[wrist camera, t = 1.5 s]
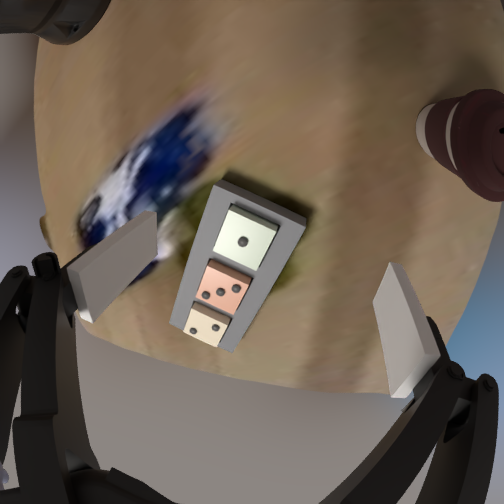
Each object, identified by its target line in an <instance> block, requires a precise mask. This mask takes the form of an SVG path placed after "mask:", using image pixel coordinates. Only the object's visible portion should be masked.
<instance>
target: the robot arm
mask: <svg viewBox="0 0 504 504" xmlns="http://www.w3.org/2000/svg"><path fill="white" fill-rule="evenodd" d="M109 2H110V0H0V34H8V33H33V34H36V35H38V36H39V37H41V38H43V39H45V40H47V41H49V42H50V43H53V44H58V45H69V44H72V43H75V42H76V41H78V40H80V39H81V38H83V37H84V36H85V35H86V34H87V33H88V32H89V31H90V30H91V29H92V28H93V27H94V26H95V25H96V24H97V22H98V21H99V20H100V18H101V17H102V15H103V14H104V12H105V10H106V8H107V6H108V4H109ZM157 255H158V252H157V220H156V212H150V211H144V212H142V213H141V214H139V215H138V216H136V217H135V218H133V219H132V220H130V221H129V222H128V223H126V224H125V225H123V226H122V227H120V228H119V229H118V230H116V231H115V232H113V233H112V234H110V235H109V236H108V237H106V238H105V239H104V240H102V241H101V242H99V243H98V244H95V245H93V246H90V247H88V248H87V249H85V250H84V251H83V252H82V253H80V254H79V255H77V257H75V258H74V259H72V260H71V261H70V262H68V263H67V264H66V265H65V266H63V267H62V268H61V269H60V266H59V262H58V258H57V255H56V254H55V253H52V252H46V253H42V254H40V255H38V256H37V257H35V258H34V259H33V260H32V266H33V268H34V272H35V275H36V276H30V275H29V272H28V269H27V267H26V266H16V267H13V268H12V269H11V270H10V271H9V272H8V273H7V274H6V276H5V277H4V279H3V280H2V282H1V283H0V504H178V503H174V502H172V501H170V500H169V499H167V498H166V497H164V496H163V495H161V494H160V493H158V492H157V491H155V490H154V489H152V488H151V487H149V486H148V485H147V484H145V483H143V482H142V481H140V480H138V479H135V478H133V477H131V476H129V475H127V474H125V473H123V472H121V471H119V470H117V469H115V468H113V467H112V468H111V470H110V471H107V470H101V469H100V467H99V464H98V461H97V459H96V457H95V455H94V453H93V451H92V449H91V447H90V443H89V439H88V434H87V430H86V425H85V419H84V414H83V408H82V401H81V394H80V387H79V378H78V367H77V356H76V355H77V354H76V335H75V316H74V312H75V311H76V310H77V309H78V310H79V313H80V316H81V318H82V319H84V320H86V321H89V322H91V323H94V322H95V320H96V319H97V318H98V317H99V316H100V315H101V314H102V313H103V312H104V310H105V309H106V308H107V307H108V306H109V305H110V304H111V303H112V302H113V301H114V299H115V298H116V297H117V296H118V295H119V294H120V293H121V292H122V291H123V290H124V289H125V288H126V287H127V286H128V284H129V283H130V282H131V281H132V280H133V279H134V278H135V277H136V276H137V275H138V274H139V273H140V272H141V271H142V270H143V269H144V268H145V267H146V266H147V265H148V264H149V263H150V262H151V261H152V260H153V259H154V258H155V257H156V256H157ZM16 306H17V307H18V310H19V312H18V314H16ZM373 306H374V310H375V314H376V319H377V323H378V328H379V333H380V337H381V342H382V347H383V353H384V358H385V364H386V370H387V376H388V382H389V389H390V395H391V397H393V398H406V397H407V396H408V395H409V394H410V392H411V391H412V390H413V392H414V398H413V399H412V400H411V401H410V402H409V403H408V404H407V405H406V406H405V408H403V409H402V412H403V413H402V414H401V415H400V417H399V418H398V420H397V421H396V422H395V423H394V425H393V426H392V427H391V429H390V430H389V431H388V432H387V434H386V435H385V436H384V437H383V439H382V440H381V441H380V442H379V444H378V445H377V446H376V447H375V448H374V449H373V450H372V452H371V453H370V454H369V455H368V456H367V457H366V458H365V460H364V461H363V462H362V463H361V464H360V465H359V466H358V467H357V468H356V469H355V470H354V471H353V472H352V473H351V474H350V475H349V476H348V477H347V478H346V479H345V480H344V481H343V482H342V483H341V484H340V485H339V486H338V487H337V488H336V489H335V490H334V491H332V492H331V493H330V494H329V495H328V496H327V497H326V498H325V499H324V500H322V501H321V502H320V503H319V504H396V503H397V502H398V501H399V499H400V498H401V497H402V496H403V494H404V493H405V491H406V490H407V489H408V487H409V486H410V485H411V483H412V482H413V480H414V479H415V477H416V476H417V474H418V473H419V471H420V470H421V468H422V467H423V465H424V463H425V462H426V460H427V458H428V457H429V455H430V453H431V452H432V450H433V448H434V447H435V445H436V443H437V445H436V448H435V452H434V455H433V458H432V461H431V464H430V467H429V470H428V473H427V476H426V478H425V481H424V484H423V487H422V489H421V492H420V494H419V496H418V499H417V501H416V503H415V504H484V503H485V500H486V496H487V492H488V488H489V483H490V478H491V473H492V468H493V462H494V455H495V448H496V439H497V428H498V405H499V403H498V402H499V392H498V391H499V390H498V385H497V383H496V380H495V379H494V378H493V377H492V376H490V375H489V374H481V376H480V377H479V378H478V379H477V380H473V379H470V378H467V377H466V376H465V372H464V370H463V368H462V367H461V366H460V365H459V364H458V363H456V362H454V361H451V360H450V357H449V355H448V352H447V349H446V347H445V344H444V342H443V340H442V337H441V334H439V333H440V332H439V329H438V327H437V325H436V323H435V322H434V321H433V320H432V319H431V317H428V316H425V314H424V311H423V309H422V307H421V304H420V302H419V300H418V298H417V295H416V293H415V291H414V289H413V287H412V285H411V282H410V280H409V278H408V276H407V274H406V272H405V270H404V268H403V266H402V264H398V263H393V262H389V265H388V267H387V270H386V272H385V275H384V277H383V279H382V282H381V284H380V286H379V289H378V291H377V293H376V296H375V298H374V300H373ZM20 382H21V415H20V417H15V418H14V420H13V425H12V429H13V430H12V431H13V445H14V455H15V463H16V470H17V476H18V482H19V487H17V488H12V489H7V490H4V487H3V483H7V482H8V480H9V475H8V473H7V472H6V470H5V469H3V466H2V465H3V462H4V460H5V456H6V452H7V448H8V441H9V435H10V429H11V423H12V417H13V412H14V407H15V402H16V398H17V394H18V390H19V386H20Z"/></svg>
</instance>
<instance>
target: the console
mask: <svg viewBox="0 0 504 504" xmlns="http://www.w3.org/2000/svg"><path fill="white" fill-rule="evenodd" d="M233 204H235V205H237V206H240V207H242V208H244V209H246V210H248V211H250V212H253V213H255V214H257V215H259V216H261V217H263V218H266V219H268V220H270V221H272V222H274V223H276V224H278V225H279V227H278V229H277V231H276V233H275V235H274V237H273V239H272V241H271V243H270V245H269V247H268V249H267V251H266V253H265V255H264V257H263V259H262V261H261V263H260V265H259V267H258V269H257V271H255V270H253V269H251V268H249V267H247V266H244V265H242V264H240V263H238V262H236V261H234V260H232V259H229V258H227V257H225V256H223V255H221V254H219V253H217V252H214V251H213V249H214V246H215V244H216V241H217V238H218V236H219V233H220V231H221V228H222V226H223V223H224V221H225V218H226V215H227V213H228V210H229V209H230V208H231V206H232V205H233ZM305 228H306V218H304V217H302V216H300V215H298V214H296V213H294V212H292V211H290V210H288V209H286V208H284V207H282V206H280V205H277V204H275V203H273V202H271V201H269V200H267V199H265V198H262V197H260V196H258V195H256V194H254V193H252V192H249V191H247V190H245V189H243V188H240V187H238V186H236V185H234V184H231V183H229V182H227V181H225V180H222V179H221V180H219V181H218V182H217V183H215V184H214V186H213V188H212V191H211V194H210V197H209V199H208V202H207V205H206V208H205V211H204V214H203V216H202V219H201V222H200V225H199V228H198V231H197V234H196V237H195V240H194V243H193V246H192V249H191V252H190V255H189V259H188V262H187V265H186V268H185V271H184V275H183V278H182V281H181V284H180V288H179V291H178V294H177V298H176V301H175V305H174V308H173V312H172V315H171V319H170V322H169V324H171V325H173V326H175V327H177V328H179V329H181V330H183V331H184V328H185V325H186V322H187V320H188V317H189V314H190V311H191V308H192V307H193V305H194V303H195V301H196V302H198V303H200V304H202V305H205V306H207V307H209V308H211V309H213V310H215V311H217V312H220V313H222V314H224V315H226V316H228V317H230V318H231V320H230V322H229V324H228V326H227V328H226V330H225V332H224V334H223V336H222V338H221V340H220V341H219V343H218V345H217V346H218V347H220V348H222V349H224V350H227V351H229V352H231V353H233V351H234V349H235V348H236V346H237V345H238V343H239V341H240V340H241V338H242V336H243V335H244V333H245V332H246V330H247V328H248V327H249V325H250V323H251V322H252V320H253V318H254V317H255V315H256V313H257V312H258V310H259V308H260V307H261V305H262V303H263V301H264V300H265V298H266V296H267V295H268V293H269V291H270V290H271V288H272V286H273V284H274V283H275V281H276V279H277V278H278V276H279V274H280V272H281V271H282V269H283V267H284V265H285V264H286V262H287V260H288V258H289V257H290V255H291V253H292V251H293V250H294V248H295V246H296V244H297V242H298V241H299V239H300V237H301V235H302V233H303V232H304V230H305ZM211 259H214V260H216V261H218V262H220V263H222V264H224V265H226V266H229V267H231V268H233V269H235V270H237V271H239V272H241V273H244V274H246V275H248V276H250V277H252V280H251V282H250V284H249V286H248V288H247V290H246V292H245V294H244V296H243V298H242V299H241V301H240V303H239V305H238V307H237V309H236V311H235V313H234V315H233V314H230V313H228V312H226V311H224V310H222V309H219V308H217V307H215V306H213V305H211V304H209V303H207V302H205V301H203V300H200V299H198V298H196V294H197V292H198V289H199V286H200V283H201V281H202V278H203V275H204V273H205V270H206V267H207V265H208V264H209V262H210V260H211Z"/></svg>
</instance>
